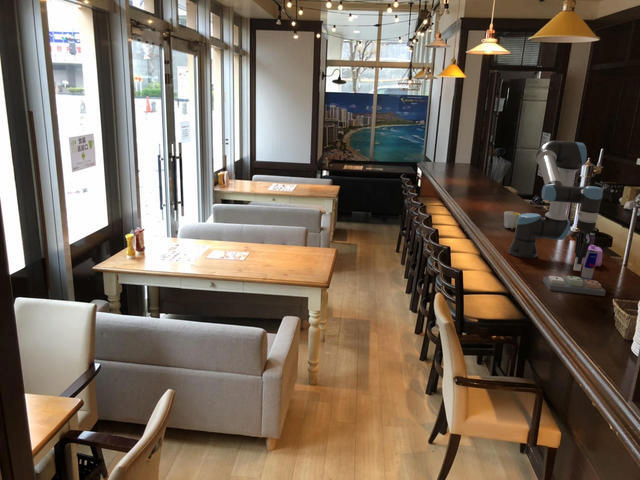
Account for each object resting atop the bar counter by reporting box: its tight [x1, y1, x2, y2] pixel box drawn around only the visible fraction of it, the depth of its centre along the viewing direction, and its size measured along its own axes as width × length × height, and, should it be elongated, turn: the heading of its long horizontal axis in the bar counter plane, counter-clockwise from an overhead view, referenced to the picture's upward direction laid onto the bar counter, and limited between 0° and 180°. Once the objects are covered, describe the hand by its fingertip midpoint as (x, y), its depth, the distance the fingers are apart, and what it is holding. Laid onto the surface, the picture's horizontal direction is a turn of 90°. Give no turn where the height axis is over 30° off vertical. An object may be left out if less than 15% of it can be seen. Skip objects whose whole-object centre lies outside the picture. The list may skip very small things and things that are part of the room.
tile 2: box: [565, 275, 584, 287], centre depth 240 cm, size 6×6×3 cm
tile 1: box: [547, 275, 565, 285], centre depth 242 cm, size 6×6×3 cm
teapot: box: [582, 245, 603, 267], centre depth 283 cm, size 18×10×10 cm, turn 162°
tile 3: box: [583, 279, 602, 289], centre depth 240 cm, size 6×6×3 cm
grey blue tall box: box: [580, 250, 598, 281], centre depth 253 cm, size 5×5×15 cm
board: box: [542, 276, 607, 297], centre depth 241 cm, size 12×24×2 cm, turn 81°
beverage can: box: [589, 232, 596, 246], centre depth 301 cm, size 7×7×12 cm
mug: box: [503, 210, 521, 230], centre depth 351 cm, size 14×10×10 cm
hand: (576, 270), depth 239 cm, fingers closed
